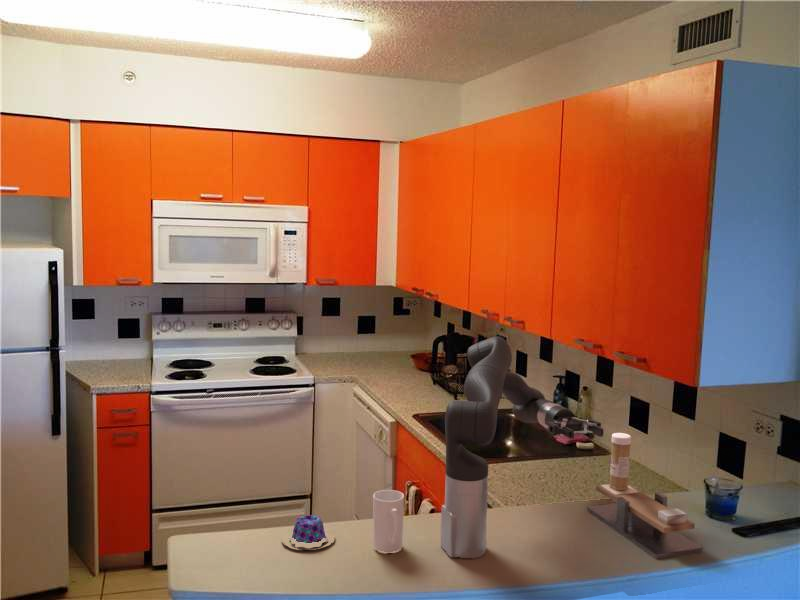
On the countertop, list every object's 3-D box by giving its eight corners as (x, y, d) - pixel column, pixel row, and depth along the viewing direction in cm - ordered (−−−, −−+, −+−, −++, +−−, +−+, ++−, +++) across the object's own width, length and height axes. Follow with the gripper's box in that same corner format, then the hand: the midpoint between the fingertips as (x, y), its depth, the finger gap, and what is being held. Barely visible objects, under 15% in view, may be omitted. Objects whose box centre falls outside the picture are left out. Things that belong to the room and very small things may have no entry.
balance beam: (662, 533, 156) (663, 518, 155) (595, 489, 180) (595, 477, 180) (695, 528, 158) (695, 514, 158) (624, 486, 183) (624, 474, 182)
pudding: (345, 545, 160) (345, 522, 160) (297, 559, 153) (297, 535, 153) (318, 526, 170) (318, 504, 169) (272, 539, 163) (272, 516, 162)
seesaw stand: (656, 559, 155) (657, 523, 154) (586, 510, 181) (588, 479, 180) (701, 551, 159) (704, 517, 158) (627, 505, 184) (629, 475, 183)
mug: (369, 542, 161) (369, 491, 160) (398, 539, 163) (399, 488, 161) (380, 563, 151) (381, 508, 150) (411, 559, 153) (412, 505, 152)
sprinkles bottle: (606, 484, 180) (608, 432, 178) (623, 484, 180) (626, 431, 179) (613, 491, 175) (616, 437, 174) (631, 491, 176) (634, 437, 174)
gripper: (533, 406, 199) (563, 421, 183) (579, 404, 203) (612, 418, 188) (532, 433, 200) (562, 450, 184) (577, 430, 204) (610, 446, 188)
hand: (587, 433), depth 186 cm, fingers open, 8 cm apart
